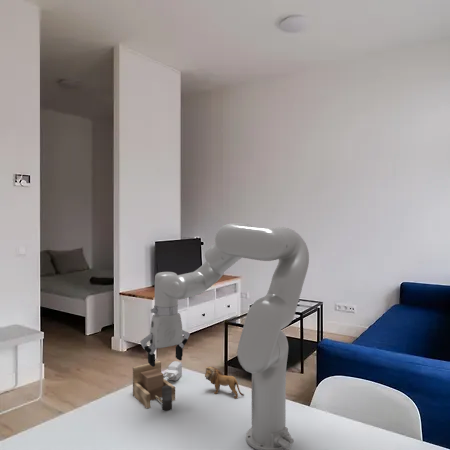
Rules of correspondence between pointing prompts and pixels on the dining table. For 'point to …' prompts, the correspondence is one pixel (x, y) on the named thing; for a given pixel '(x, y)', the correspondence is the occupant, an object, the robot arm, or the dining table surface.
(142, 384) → the wooden lever toy
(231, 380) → the lion figurine
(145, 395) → the wooden stand
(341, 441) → the dining table surface
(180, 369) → the power adapter
